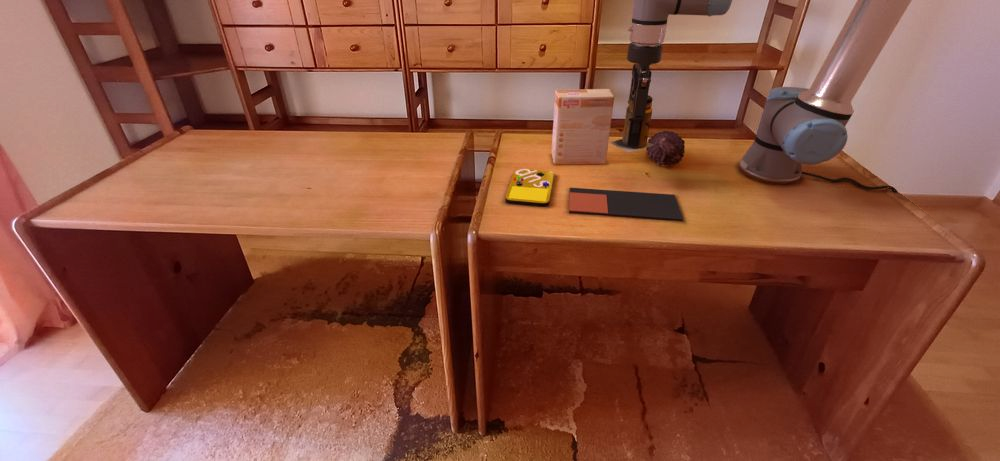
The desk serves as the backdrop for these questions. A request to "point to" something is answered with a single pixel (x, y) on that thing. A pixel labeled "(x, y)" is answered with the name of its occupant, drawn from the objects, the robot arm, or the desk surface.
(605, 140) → the coffeecake box
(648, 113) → the condiment
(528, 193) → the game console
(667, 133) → the pine cone
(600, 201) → the desk mat
